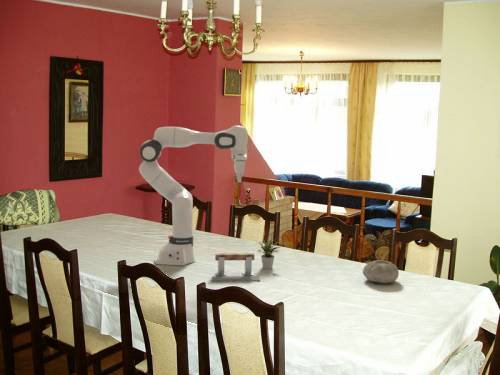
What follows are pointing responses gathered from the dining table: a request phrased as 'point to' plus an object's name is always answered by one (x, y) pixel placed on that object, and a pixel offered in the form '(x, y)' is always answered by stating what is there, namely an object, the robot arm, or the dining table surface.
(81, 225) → the dining table surface
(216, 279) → the pad
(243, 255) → the rail
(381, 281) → the grey flattened round lump
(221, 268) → the standard left
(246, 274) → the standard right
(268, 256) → the house plant
